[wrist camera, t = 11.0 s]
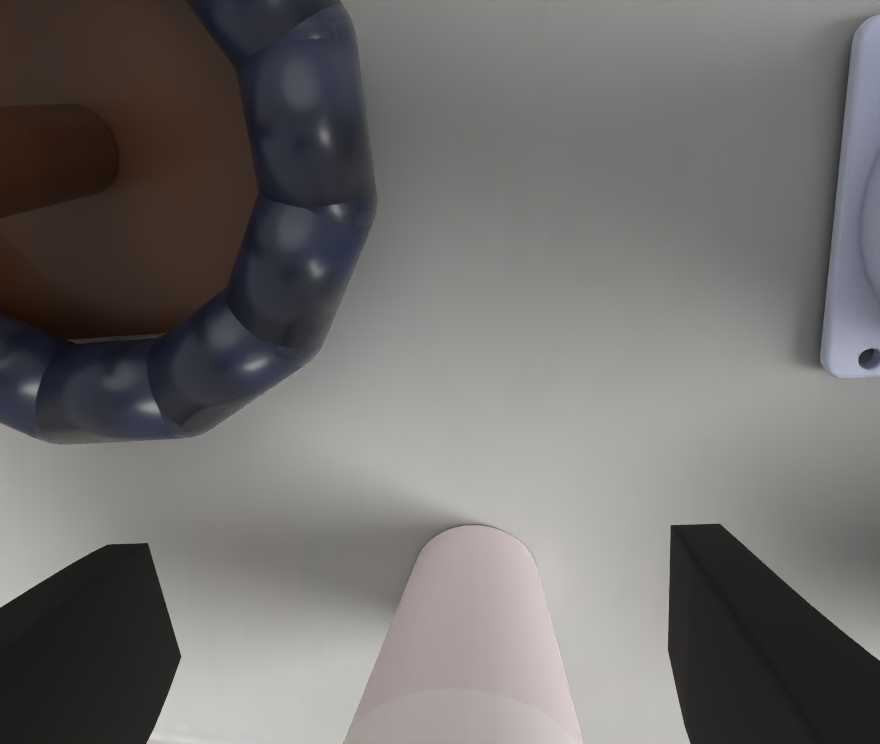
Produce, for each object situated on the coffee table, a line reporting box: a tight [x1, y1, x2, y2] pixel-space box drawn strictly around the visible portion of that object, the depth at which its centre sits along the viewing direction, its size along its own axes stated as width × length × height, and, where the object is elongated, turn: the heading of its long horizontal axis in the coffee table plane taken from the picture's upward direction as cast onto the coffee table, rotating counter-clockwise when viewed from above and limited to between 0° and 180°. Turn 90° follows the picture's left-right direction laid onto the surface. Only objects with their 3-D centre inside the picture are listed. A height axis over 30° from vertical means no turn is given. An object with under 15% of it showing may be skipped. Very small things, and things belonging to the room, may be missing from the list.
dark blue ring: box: [0, 0, 377, 444], centre depth 15 cm, size 13×13×2 cm
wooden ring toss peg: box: [0, 0, 259, 341], centre depth 14 cm, size 9×9×7 cm
